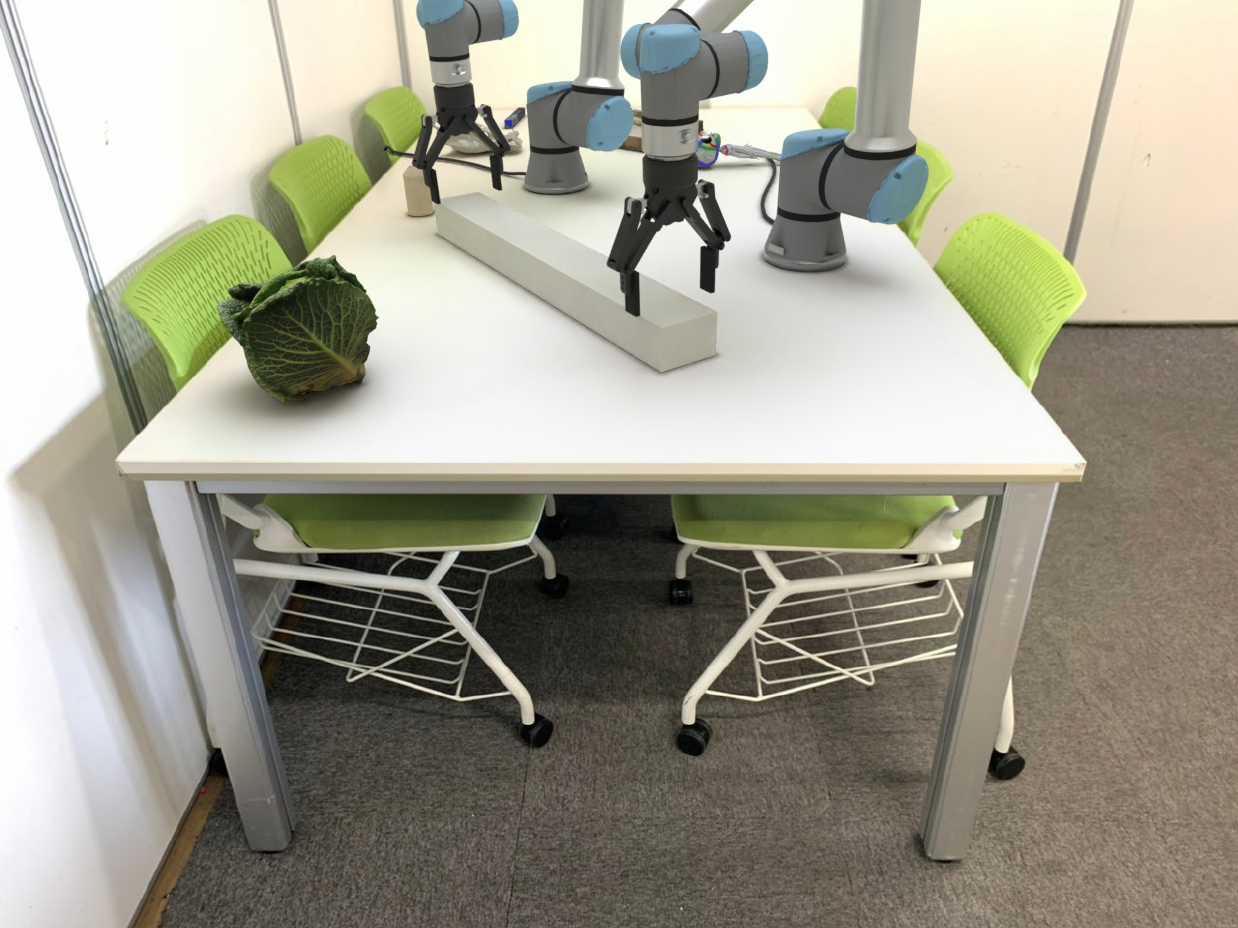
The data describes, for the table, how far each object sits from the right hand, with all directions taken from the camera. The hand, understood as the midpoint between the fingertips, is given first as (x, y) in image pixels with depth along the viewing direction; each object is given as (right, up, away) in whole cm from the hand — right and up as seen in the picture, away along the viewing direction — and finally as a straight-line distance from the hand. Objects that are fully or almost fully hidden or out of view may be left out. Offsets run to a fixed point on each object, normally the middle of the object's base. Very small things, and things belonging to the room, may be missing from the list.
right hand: (670, 302), depth 132 cm
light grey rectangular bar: (-19, +8, +28) cm, 35 cm away
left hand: (-38, +30, +49) cm, 69 cm away
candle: (-51, +31, +66) cm, 90 cm away
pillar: (-40, +82, +146) cm, 173 cm away
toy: (+24, +53, +97) cm, 113 cm away
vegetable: (-51, -13, -4) cm, 53 cm away
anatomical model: (-46, +62, +114) cm, 138 cm away
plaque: (-3, +71, +127) cm, 146 cm away
